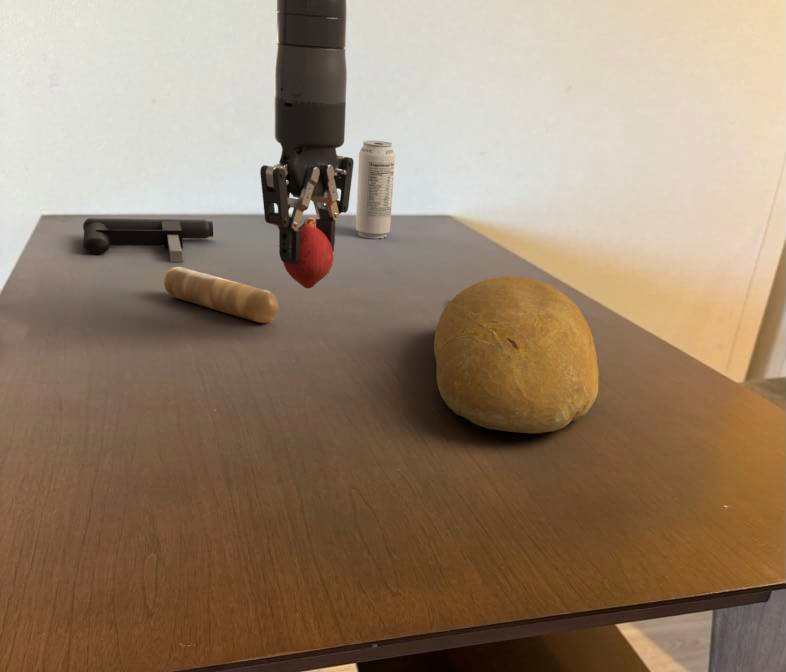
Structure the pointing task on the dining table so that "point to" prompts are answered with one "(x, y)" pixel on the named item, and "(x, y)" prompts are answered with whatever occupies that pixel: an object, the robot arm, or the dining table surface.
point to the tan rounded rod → (221, 294)
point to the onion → (311, 256)
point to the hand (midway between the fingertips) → (307, 257)
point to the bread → (515, 356)
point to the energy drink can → (375, 189)
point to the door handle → (143, 233)
